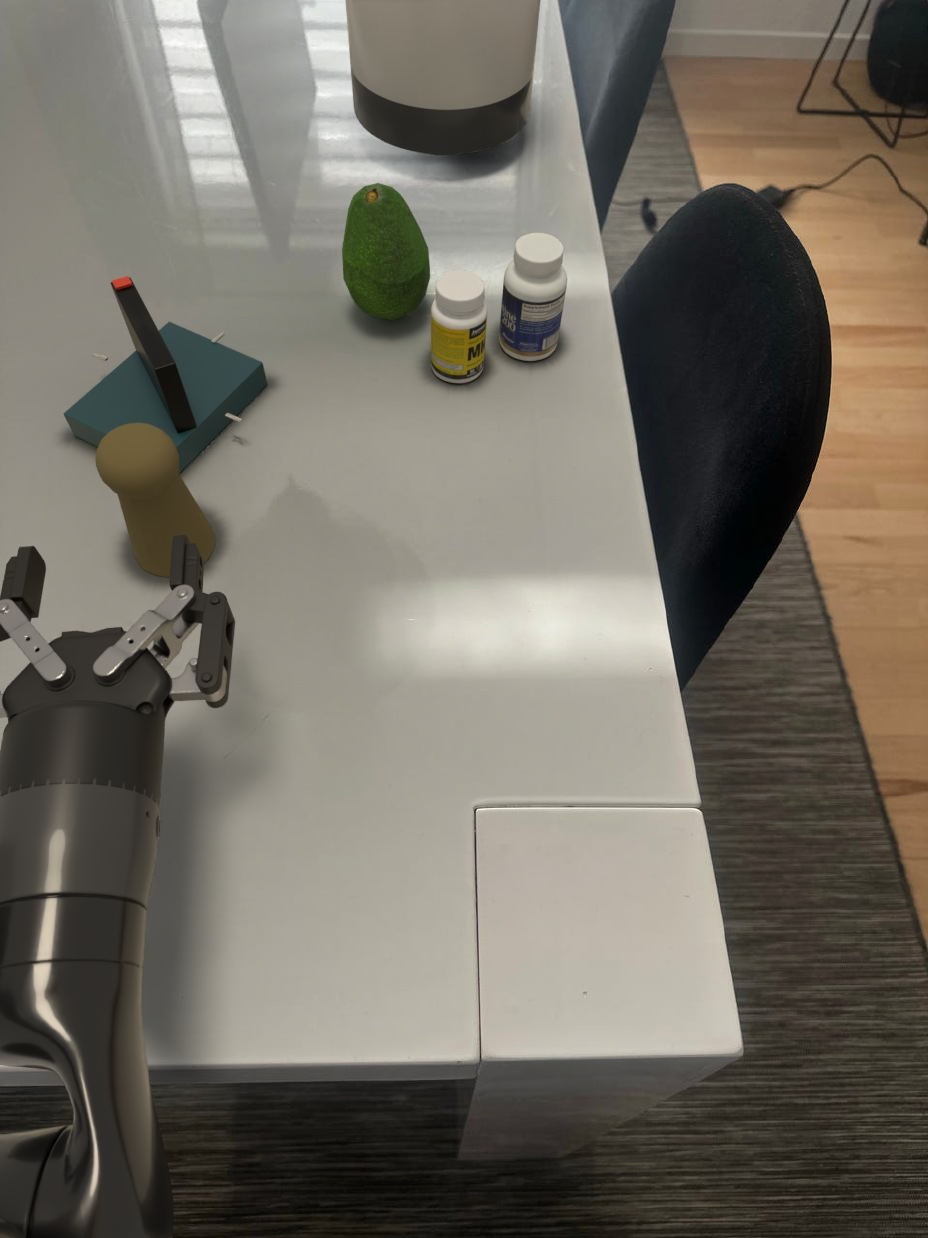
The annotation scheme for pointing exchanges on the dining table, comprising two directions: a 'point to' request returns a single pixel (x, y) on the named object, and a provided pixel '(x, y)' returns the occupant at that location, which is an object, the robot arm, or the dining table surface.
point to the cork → (152, 494)
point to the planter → (442, 71)
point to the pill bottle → (533, 298)
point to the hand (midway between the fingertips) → (108, 548)
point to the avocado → (384, 254)
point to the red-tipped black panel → (154, 354)
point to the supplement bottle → (458, 327)
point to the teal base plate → (209, 379)
